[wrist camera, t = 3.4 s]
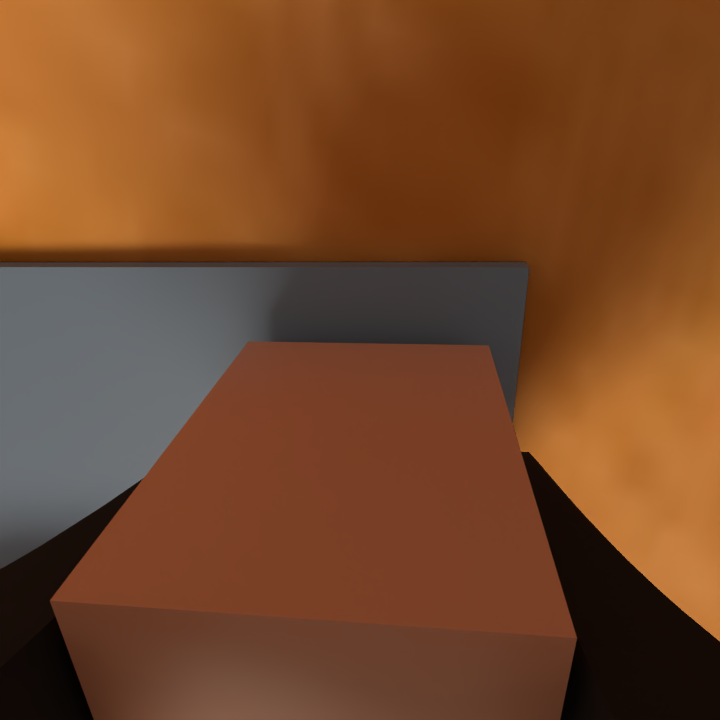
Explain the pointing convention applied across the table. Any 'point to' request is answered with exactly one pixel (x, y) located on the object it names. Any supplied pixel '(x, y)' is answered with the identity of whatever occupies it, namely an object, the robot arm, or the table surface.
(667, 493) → the table surface
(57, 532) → the mat
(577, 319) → the table surface
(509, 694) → the terracotta block
